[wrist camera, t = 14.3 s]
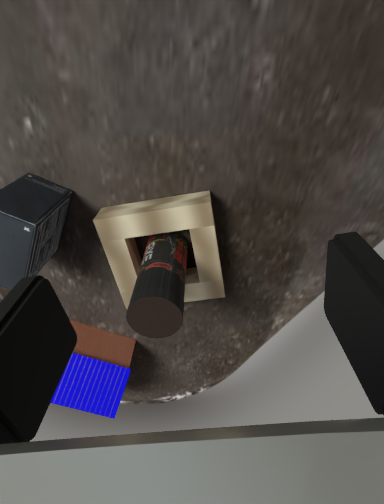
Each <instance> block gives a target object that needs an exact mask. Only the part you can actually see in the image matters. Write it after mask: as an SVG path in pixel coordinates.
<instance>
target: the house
mask: <svg viewBox="0 0 384 504" xmlns="http://www.w3.org/2000/svg"><path fill="white" fill-rule="evenodd" d="M70 322H71V324H72V326H73V328H74V330H75V332H76V334H77V344H76V346H75V348H74V351H73V353H72V355H71V357H70V360H69V362H68V364H67V366H66V368H65V371H64V373H63V375H62V377H61V380H60V382H59V384H58V386H57V388H56V391H55V393H54V395H53V397H52V400H51V402H50V403H54V404H58V405H62V406H66V407H70V408H74V409H78V410H82V411H86V412H90V413H94V414H98V415H102V416H107V417H110V418H115V414H116V412H117V409H118V406H119V403H120V400H121V397H122V394H123V392H124V389H125V386H126V383H127V380H128V377H129V374H130V371H131V369H129V367H130V362H131V358H132V354H133V350H134V346H135V341H136V340H135V339H131V338H128V337H125V336H122V335H118V334H115V333H112V332H108V331H105V330H102V329H98V328H95V327H92V326H89V325H85V324H82V323H79V322H75V321H72V320H70Z"/></svg>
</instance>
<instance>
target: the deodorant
mask: <svg viewBox="0 0 384 504" xmlns="http://www.w3.org/2000/svg"><path fill="white" fill-rule="evenodd" d="M187 250H188V245H187V241H186V239H185V237H184V236H183V235H182V234H181V233H179V232H178V231H173V232H166V233H159V234H153V235H151V236H150V237H149V240H148V243H147V246H146V249H145V253H144V256H143V259H142V263H141V266H140V269H139V273H138V276H137V279H136V283H135V286H134V289H133V293H132V296H131V299H130V303H129V306H128V309H127V315H126V318H127V321H128V324H129V325H130V326H131V328H132V329H133V330H135V331H136V332H137V333H139V334H141V335H143V336H146V337H150V338H164V337H168V336H171V335H172V334H174V333H176V332H177V331H178V330H179V329H180V327H181V325H182V321H183V309H184V295H185V280H186V265H187Z"/></svg>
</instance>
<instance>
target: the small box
mask: <svg viewBox="0 0 384 504" xmlns="http://www.w3.org/2000/svg"><path fill="white" fill-rule="evenodd" d="M72 193H73V192H72V191H71V190H69V189H67V188H63V187H62V186H59V185H56V184H54V183H51V182H49V181H47V180H44V179H42V178H41V177H38V176H35V175H32V174H29V173H27V174H26V175H24V176H22V177H21V178H19V179H17V180H16V181H14V182H12V183H11V184H9V185H7V186H5V187H4V188H2V189H0V286H1V287H4V288H7V289H10V290H12V289H13V288H14V286H15V285H16V284H17V283H18V282H19V280H20V279H22V278H24V277H31V276H36V275H37V274H38V272H39V271H40V270H41V269H42V268H43V266H44V265H45V264H46V263H47V262H48V260H49V259H50V258H51V257H52V256H53V255H54V254H55V252H56V251H57V250H58V247H59V243H60V239H61V236H62V232H63V228H64V224H65V220H66V217H67V213H68V209H69V205H70V201H71V197H72Z"/></svg>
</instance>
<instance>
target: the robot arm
mask: <svg viewBox="0 0 384 504" xmlns="http://www.w3.org/2000/svg"><path fill="white" fill-rule="evenodd" d="M324 310H325V314H326V317H327V319H328V321H329V323H330V325H331V326H332V328H333V330H334V332H335V334H336V336H337V338H338V340H339V342H340V344H341V346H342V348H343V350H344V352H345V354H346V356H347V358H348V360H349V361H350V364H351V366H352V368H353V370H354V371H355V373H356V375H357V377H358V379H359V381H360V383H361V385H362V387H363V389H364V391H365V393H366V395H367V397H368V399H369V401H370V402H371V405H372V406H373V408H374V410H375V412H376V413H378V414H383V415H384V260H383V259H382V258H381V257H380V256H379V255H378V254H377V253H376V252H375V250H374V249H373V248H372V247H371V246H370V245H369V244H368V243H367V242H366V241H365V240H364V239H363V238H362V237H361V236H360V235H359V234H358V233H357V232H350V233H343V234H336V235H335V236H334V239H333V240H329V242H328V251H327V266H326V281H325V298H324ZM76 344H77V334H76V332H75V330H74V328H73V326H72V324H71V322H70V320H69V318H68V316H67V314H66V312H65V311H64V309H63V307H62V305H61V303H60V301H59V299H58V297H57V295H56V293H55V291H54V289H53V287H52V286H51V284H50V282H49V280H47V279H44V277H42V276H40V275H38V276H31V277H24V278H22V279H20V280H19V282H18V283H17V284H16V285H15V286H14V288H13V289H12V290H11V291H10V292H9V293H8V295H7V296H6V297H5V298H4V299H3V300H2V302H1V303H0V504H384V418H368V419H349V420H331V421H311V422H310V421H309V422H295V423H280V424H265V425H250V426H236V427H221V428H208V429H194V430H193V429H192V430H180V431H165V432H151V433H138V434H125V435H111V436H99V437H85V438H71V439H59V440H48V441H35V442H29V441H30V440H32V439H33V438H34V437H35V435H36V433H37V431H38V429H39V426H40V424H41V422H42V420H43V417H44V415H45V413H46V410H47V409H48V406H49V404H50V402H51V400H52V397H53V395H54V393H55V391H56V388H57V386H58V384H59V382H60V380H61V377H62V375H63V373H64V371H65V368H66V366H67V364H68V362H69V360H70V357H71V355H72V353H73V351H74V348H75V346H76Z"/></svg>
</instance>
